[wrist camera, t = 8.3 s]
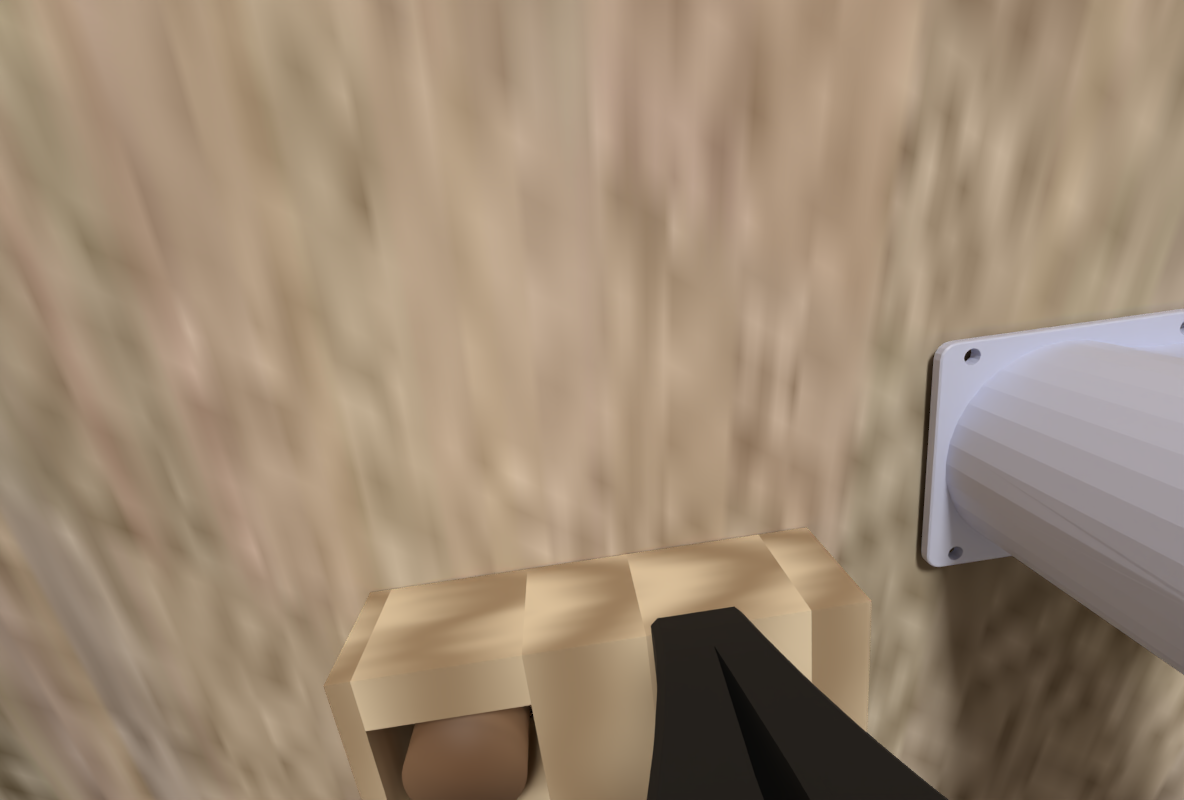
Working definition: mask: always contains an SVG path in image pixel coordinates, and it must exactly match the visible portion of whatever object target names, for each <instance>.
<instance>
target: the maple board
mask: <svg viewBox="0 0 1184 800" xmlns="http://www.w3.org/2000/svg"><path fill="white" fill-rule="evenodd" d="M734 606H735V607H736V608H737V609H738V610H740V611H741V612H742V613H743V614H744V615H745V616H746V617H747V618H748V619H749V620H750V621H751V622H752V623H753V624H754V626H755V627H756V628H757V629H758V630H759V631H760V632H761V633H762V634H763V635H764V636H765V637H766V638H767V639H768V640H769V641H770V642H771V643H772V644H773V645H774V646H775V647H776V648H777V649H778V650H779V651H780V652H781V653H782V654H783V655H784V656H785V657H786V658H787V659H788V660H789V661H790V662H791V663H792V664H793V665H794V666H795V667H796V668H797V669H798V670H799V671H800V672H801V673H802V674H803V675H804V676H805V677H806V678H808V679H809V680H810V681H811V682H812V683H813V684H814V685H815V686H816V687H817V688H818V689H819V690H820V691H821V692H823V693H824V694H825V695H826V696H827V697H828V698H829V699H830V700H831V701H832V702H833V703H835V704H836V705H837V706H838V707H839V708H840V709H841V710H842V711H843V712H844V713H845V714H847V715H848V716H849V717H850V718H851V719H852V720H853V721H854V722H855V723H857V724H858V725H859V726H860V727H861V728H862V729H863V730H865V731H866V732H867V722H868V693H869V664H870V635H871V606H872V601H871V600H870V599H869V598H868V597H867V595H866V594H865V593H864V592H863V591H862V590H861V589H860V587H859V586H858V585H857V584H856V583H855V582H854V581H853V579H852V578H851V577H850V576H849V575H848V574H847V573H846V572H845V570H844V569H843V568H842V567H841V566H840V565H839V564H838V562H837V561H836V560H835V559H834V558H833V557H832V556H831V554H830V553H829V552H828V551H827V550H826V549H825V548H824V546H823V545H822V544H821V543H820V542H819V541H818V540H817V539H816V537H815V536H814V535H813V534H812V533H811V532H810V531H809V529H808V528H807V527H806V528H799V529H792V530H786V531H779V532H772V533H766V534H759V535H752V536H746V537H739V538H732V539H726V540H719V541H712V542H706V543H699V544H692V545H685V546H679V547H672V548H665V549H659V550H652V551H645V552H639V553H632V554H625V555H619V556H612V557H605V558H598V559H592V560H585V561H578V562H572V563H565V564H558V565H552V566H545V567H538V568H532V569H525V570H518V571H512V572H505V573H498V574H491V575H485V576H478V577H471V578H465V579H458V580H451V581H445V582H438V583H431V584H425V585H418V586H411V587H404V588H398V589H391V590H384V591H378V592H371V593H370V594H369V596H368V598H367V600H366V602H365V604H364V606H363V608H362V610H361V612H360V614H359V616H358V618H357V620H356V622H355V624H354V626H353V628H352V630H351V632H350V634H349V636H348V638H347V640H346V642H345V644H344V646H343V648H342V650H341V652H340V654H339V656H338V658H337V660H336V662H335V664H334V666H333V668H332V670H331V672H330V674H329V676H328V678H327V680H326V682H325V684H324V689H325V692H326V695H327V698H328V701H329V704H330V707H331V710H332V713H333V716H334V719H335V722H336V725H337V728H338V731H339V734H340V737H341V740H342V743H343V746H344V749H345V752H346V755H347V758H348V761H349V764H350V767H351V770H352V773H353V776H354V779H355V782H356V785H357V788H358V791H359V794H360V797H361V800H411V799H410V798H409V796H408V794H407V793H406V791H405V788H404V786H403V781H402V770H403V765H404V761H405V758H406V754H407V750H408V747H409V743H410V739H411V736H412V732H413V729H414V725H415V723H421V722H427V721H433V720H440V719H446V718H452V717H459V716H465V715H471V714H478V713H484V712H490V711H497V710H503V709H509V708H516V707H522V706H528V705H532V711H533V716H534V717H531V718H530V720H529V745H528V769H527V780H526V784H525V787H524V789H523V791H522V793H521V795H520V796H519V797H518V798H517V800H647V793H648V786H649V778H650V770H651V762H652V755H653V746H654V734H655V717H656V701H657V680H656V670H655V661H654V652H653V643H652V634H651V625H652V624H653V622H654V621H655V620H656V619H657V618H662V617H669V616H675V615H682V614H688V613H695V612H701V611H708V610H714V609H721V608H727V607H734Z"/></svg>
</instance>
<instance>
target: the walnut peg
mask: <svg viewBox="0 0 1184 800" xmlns="http://www.w3.org/2000/svg"><path fill="white" fill-rule="evenodd" d="M529 720H530V705H528V706H522V707H516V708H509V709H503V710H497V711H490V712H484V713H478V714H471V715H465V716H459V717H452V718H446V719H440V720H433V721H427V722H421V723H415V725H414V729H413V732H412V736H411V739H410V743H409V747H408V750H407V754H406V758H405V761H404V765H403V770H402V781H403V786H404V788H405V791H406V793H407V794H408V796H409V798H410V799H411V800H517V798H518V797H519V796H520V795H521V793H522V791H523V789H524V787H525V784H526V780H527V769H528V745H529Z"/></svg>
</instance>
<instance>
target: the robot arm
mask: <svg viewBox="0 0 1184 800" xmlns="http://www.w3.org/2000/svg"><path fill="white" fill-rule="evenodd" d="M1182 323H1183V324H1182ZM1181 325H1182V326H1181ZM1180 327H1181V328H1180ZM970 349H971V356H970V358H969V359H968V360H967V361H965V360H964V357H965V354H966V353H967V352H968V350H970ZM952 548H954V550H953V551H952V552H950V553H949V551H950V550H951V549H952ZM921 554H922V557H923V558H924V560H925V561H926V562H928V563H929V564H930V565H932V566H934V567H943V566H949V565H956V564H962V563H969V562H975V561H982V560H988V559H995V558H1001V557H1008V556H1013V557H1015V558H1016V559H1018V560H1019V561H1020V562H1022V563H1023V564H1025V565H1026V566H1028V567H1029V568H1031V569H1032V570H1033V571H1035V572H1036V573H1038V574H1039V575H1041V576H1042V577H1044V578H1045V579H1046V580H1048V581H1049V582H1051V583H1052V584H1054V585H1055V586H1057V587H1058V588H1059V589H1061V590H1062V591H1064V592H1065V593H1067V594H1068V595H1069V596H1071V597H1072V598H1074V599H1075V600H1077V601H1078V602H1080V603H1081V604H1082V605H1084V606H1085V607H1087V608H1088V609H1090V610H1091V611H1093V612H1094V613H1095V614H1097V615H1098V616H1100V617H1101V618H1103V619H1104V620H1106V621H1107V622H1108V623H1110V624H1111V625H1113V626H1114V627H1116V628H1117V629H1119V630H1120V631H1121V632H1123V633H1124V634H1126V635H1127V636H1129V637H1130V638H1131V639H1133V640H1134V641H1136V642H1137V643H1139V644H1140V645H1142V646H1143V647H1144V648H1146V649H1147V650H1149V651H1150V652H1152V653H1153V654H1155V655H1156V656H1157V657H1159V658H1160V659H1162V660H1163V661H1165V662H1166V663H1168V664H1169V665H1170V666H1172V667H1173V668H1175V669H1176V670H1178V671H1179V672H1180V673H1182V674H1183V675H1184V309H1178V310H1171V311H1163V312H1156V313H1149V314H1142V315H1134V316H1127V317H1120V318H1113V319H1106V320H1098V321H1091V322H1084V323H1077V324H1069V325H1062V326H1055V327H1048V328H1041V329H1033V330H1026V331H1019V332H1012V333H1004V334H997V335H990V336H983V337H976V338H968V339H961V340H954V341H949V342H946V343H943V344H942V345H941V346H940V347H939V348H938V349H937V351H936V352H935V355H934V360H933V376H932V391H931V407H930V422H929V438H928V453H927V469H926V485H925V500H924V516H923V531H922V547H921ZM651 634H652V643H653V652H654V661H655V670H656V680H657V701H656V717H655V734H654V746H653V755H652V762H651V770H650V778H649V786H648V793H647V800H948V799H947V798H946V797H944V796H943V795H942V794H941V793H939V792H938V791H937V790H935V789H934V788H933V787H932V786H931V785H929V784H928V783H927V782H926V781H924V780H923V779H922V778H921V777H919V776H918V775H917V774H916V773H914V772H913V771H912V770H911V769H910V768H908V767H907V766H906V765H905V764H904V763H902V762H901V761H900V760H899V759H898V758H896V757H895V756H894V755H893V754H892V753H890V752H889V751H888V750H887V749H886V748H884V747H883V746H882V745H881V744H880V743H878V742H877V741H876V740H875V739H874V738H873V737H871V736H870V735H869V734H868V733H867V732H866V731H865V730H863V729H862V728H861V727H860V726H859V725H858V724H857V723H855V722H854V721H853V720H852V719H851V718H850V717H849V716H848V715H847V714H845V713H844V712H843V711H842V710H841V709H840V708H839V707H838V706H837V705H836V704H835V703H833V702H832V701H831V700H830V699H829V698H828V697H827V696H826V695H825V694H824V693H823V692H821V691H820V690H819V689H818V688H817V687H816V686H815V685H814V684H813V683H812V682H811V681H810V680H809V679H808V678H806V677H805V676H804V675H803V674H802V673H801V672H800V671H799V670H798V669H797V668H796V667H795V666H794V665H793V664H792V663H791V662H790V661H789V660H788V659H787V658H786V657H785V656H784V655H783V654H782V653H781V652H780V651H779V650H778V649H777V648H776V647H775V646H774V645H773V644H772V643H771V642H770V641H769V640H768V639H767V638H766V637H765V636H764V635H763V634H762V633H761V632H760V631H759V630H758V629H757V628H756V627H755V626H754V624H753V623H752V622H751V621H750V620H749V619H748V618H747V617H746V616H745V615H744V614H743V613H742V612H741V611H740V610H738V609H737V608H736V607H735V606H734V607H727V608H721V609H714V610H708V611H701V612H695V613H688V614H682V615H675V616H669V617H662V618H657V619H656V620H655V621H654V622H653V624H652V625H651Z"/></svg>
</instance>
